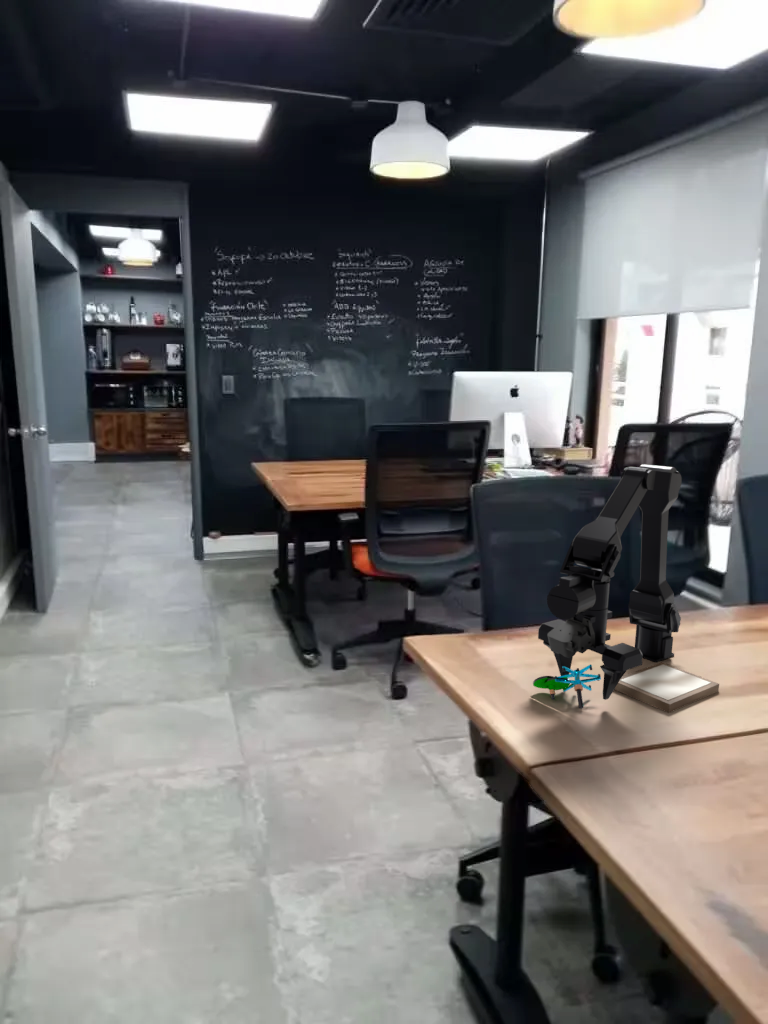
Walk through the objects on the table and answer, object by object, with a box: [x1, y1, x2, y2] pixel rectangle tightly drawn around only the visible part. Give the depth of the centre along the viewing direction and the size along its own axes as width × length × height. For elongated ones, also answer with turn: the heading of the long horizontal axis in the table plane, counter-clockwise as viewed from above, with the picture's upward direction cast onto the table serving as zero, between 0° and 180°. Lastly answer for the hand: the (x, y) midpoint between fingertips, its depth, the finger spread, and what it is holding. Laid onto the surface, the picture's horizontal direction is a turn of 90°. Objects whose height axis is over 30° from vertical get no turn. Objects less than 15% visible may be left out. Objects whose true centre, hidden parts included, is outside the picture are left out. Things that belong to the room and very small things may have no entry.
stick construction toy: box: [532, 664, 602, 710], centre depth 132 cm, size 12×7×8 cm
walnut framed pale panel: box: [614, 661, 720, 714], centre depth 138 cm, size 12×15×2 cm
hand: (584, 689), depth 134 cm, fingers open, 9 cm apart
